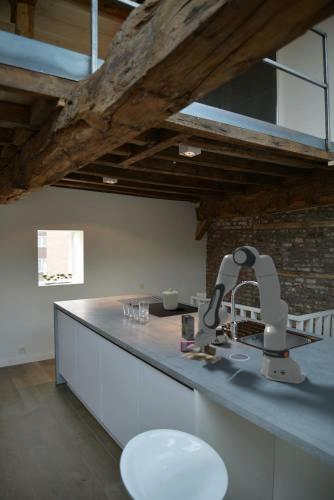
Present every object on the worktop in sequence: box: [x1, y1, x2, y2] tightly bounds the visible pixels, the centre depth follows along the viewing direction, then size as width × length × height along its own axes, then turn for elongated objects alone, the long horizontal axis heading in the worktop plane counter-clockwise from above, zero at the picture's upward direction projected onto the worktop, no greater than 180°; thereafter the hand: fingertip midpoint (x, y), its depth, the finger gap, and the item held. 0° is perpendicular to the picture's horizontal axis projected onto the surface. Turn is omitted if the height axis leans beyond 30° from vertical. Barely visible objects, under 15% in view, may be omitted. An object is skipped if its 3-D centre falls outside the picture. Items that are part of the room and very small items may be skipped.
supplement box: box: [180, 340, 195, 352], centre depth 219 cm, size 6×6×12 cm
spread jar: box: [210, 325, 230, 346], centre depth 235 cm, size 12×11×12 cm
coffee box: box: [181, 314, 195, 341], centre depth 247 cm, size 9×6×16 cm
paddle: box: [186, 344, 217, 356], centre depth 206 cm, size 17×8×4 cm, turn 61°
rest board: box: [181, 351, 223, 365], centre depth 206 cm, size 22×12×1 cm, turn 55°
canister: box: [161, 287, 180, 311], centre depth 349 cm, size 18×18×21 cm
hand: (205, 350), depth 204 cm, fingers closed on paddle, 3 cm apart
